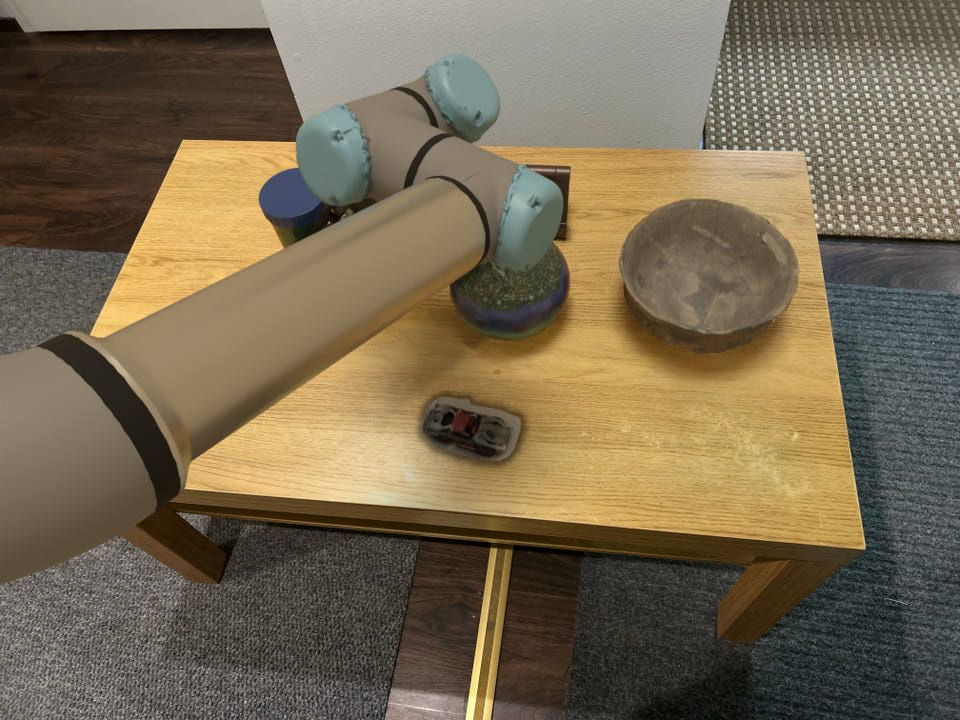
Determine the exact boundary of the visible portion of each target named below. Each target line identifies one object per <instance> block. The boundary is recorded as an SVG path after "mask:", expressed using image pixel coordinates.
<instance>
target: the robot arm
mask: <svg viewBox="0 0 960 720" xmlns="http://www.w3.org/2000/svg"><path fill="white" fill-rule="evenodd" d="M500 99H501V98H500V94H499V92H498V88H497V86H496V84H495V83H494V82H493V80H492V78H491V76H490V74H489V72H487V70H486V69H485V68H484V67H483V66H482V65H481V64H480V63H479V62H478V61H477V60H475V59H473V58H472V57H471V56H468V55H466V54H463V53H457V52H452V53H448V54H445V55H444V56H442V57H441V58H440V59H438V60H437V61H436V62H435V63H434V64H431V65H428V66H427V67H426V70H425V72H424V73H423V74H422V75H421V76H420V77H418V78H417V79H416V80H414V81H410V82H408V83H405V84H401V85H398V86H396V87H393V88H390V89H389V90H385V91H381V92H378V93H375V94H372V95H368V96H364V97H362V98H361V97H360V98H359V99H355V100H352V101H348V102H344V103H342V104H340V103H337V104H335V105H333V106H331V108H328V109H326V110H324V111H322V112H320V113H317V114H314V115H312V116H311V117H309V118H307V119H306V120H305V121H304V122H303V123H302V124H301V125H300V128H299V129H298V132H297V134H296V138H295V152H296V154H295V158H296V163H297V168H299V170H300V173H301V175H302V177H303V179H304V181H305V183H306V184H307V186H308V187H309V189H310V190H311V191H312V192H313V193H314V194H315V195H316V196H317V197H318V198H319V199H320V200H322V201H323V202H325V203H327V205H326V206H325V207H324V209H323V212H322V218H321V219H320V220H319V222H318V223H317V224H316V225H315V226H314V228H313V229H312V230H311V231H310V232H309V234H308V235H307V236H306V237H305V238H304V239H303V240H301V241H299V242H297V243H295V244H293V245H290V246H289V247H287V248H285V249H284V248H282V249H280V250H279V251H276V252H275V253H273V254H271V255H268V256H267V257H264V258H262V259H260V260H258V261H256V262H254V263H252V264H250V265H248V266H246V267H244V268H242V269H240V270H238V271H236V272H233V273H232V274H230V275H228V276H225V277H223V278H222V279H220V280H217V281H215V282H214V283H212V284H209V285H207V286H206V287H203V288H201V289H199V290H197V291H195V292H193V293H191V294H189V295H187V296H185V297H183V298H181V299H179V300H177V301H175V302H172V303H170V304H169V305H167V306H164V307H162V308H161V309H159V310H156V311H155V312H153V313H150V314H148V315H146V316H145V317H143V318H141V319H138V320H137V321H134V322H133V323H129V324H128V325H127V326H125V327H122V328H120V329H118V330H116V331H114V332H112V333H110V334H108V335H106V336H103V337H98V336H94V335H91V334H87V333H84V332H80V331H76V330H68V331H65V332H63V333H60V334H58V335H56V336H54V337H52V338H50V339H48V340H46V341H43V342H41V343H39V344H37V345H35V346H32V347H31V348H27V349H24V350H20V351H17V352H12V353H8V354H0V585H3V584H8V583H12V582H15V581H17V580H20V579H23V578H25V577H28V576H30V575H33V574H36V573H39V572H42V571H44V570H45V571H46V570H47V569H50V568H52V567H56V566H58V565H61V564H63V563H66V562H67V561H69V560H71V559H74V558H76V557H78V556H80V555H82V554H85V553H87V552H89V551H91V550H94V549H95V548H98V547H100V546H102V545H104V544H106V543H108V542H109V541H111V540H113V539H114V538H116V537H118V536H120V535H121V534H123V533H124V532H127V531H128V530H130V529H131V528H133V527H135V526H137V525H138V524H139V523H141V522H142V521H143V520H145V519H146V518H148V517H149V516H151V515H152V514H154V513H156V512H157V511H158V510H160V509H161V508H162V507H164V506H165V505H167V504H168V503H169V502H171V501H172V500H174V499H175V498H177V497H178V496H179V495H180V494H182V493H183V492H184V490H185V488H186V486H187V480H188V475H189V469H190V465H191V463H192V462H193V461H195V460H196V459H198V458H199V457H200V456H202V455H203V454H205V453H206V452H207V451H209V450H211V449H212V448H213V447H215V446H217V445H218V444H219V443H221V442H222V441H224V440H225V439H227V438H229V436H231V435H233V434H235V432H237V431H238V430H240V429H241V428H243V427H244V426H246V425H247V424H248V423H250V422H251V421H253V420H255V419H256V418H257V417H260V416H261V415H262V414H263V413H264V412H266V411H267V410H269V409H271V408H272V407H274V406H275V405H276V404H278V403H279V402H281V401H282V400H283V399H285V398H286V397H288V396H289V395H291V394H292V393H294V392H296V391H297V390H298V389H300V388H301V387H303V386H304V385H306V384H307V383H308V382H310V381H311V380H313V379H314V378H316V377H317V376H319V375H320V374H322V373H323V372H324V371H326V370H328V369H329V368H331V367H332V366H333V365H335V364H336V363H338V362H339V361H341V360H342V359H344V358H345V357H346V356H348V355H349V354H351V353H352V352H354V351H355V350H356V349H359V348H360V347H361V346H363V345H364V344H365V343H366V342H368V341H370V340H371V339H373V338H374V337H375V336H377V335H379V334H380V333H381V332H383V331H385V330H386V329H388V328H389V327H390V326H392V325H393V324H395V323H396V322H397V321H399V320H400V319H402V318H404V317H405V316H406V315H408V314H409V313H411V312H412V311H413V310H416V308H418V307H419V306H421V305H422V304H424V303H425V302H427V301H428V300H430V299H431V298H433V297H434V296H435V295H437V294H438V293H440V292H441V291H443V290H444V289H446V288H447V287H449V285H450V284H451V283H453V282H454V281H456V280H457V279H459V278H460V277H462V276H463V275H465V274H466V273H467V272H469V271H470V270H472V269H473V268H475V267H477V266H479V265H480V264H482V263H483V262H484V261H486V260H492V261H493V262H495V265H497V266H499V267H500V266H503V267H506V268H508V269H511V270H514V271H526V270H528V269H530V268H532V267H533V266H535V265H536V264H537V263H538V262H539V261H540V260H541V258H542V257H543V256H544V255H545V253H546V252H547V250H548V249H549V247H550V246H551V244H552V242H554V240H555V239H556V237H555V236H556V233H557V231H558V228H559V225H560V221H561V217H562V212H563V196H562V193H561V190H560V188H559V187H558V186H557V185H556V184H555V183H554V182H553V181H551V180H549V179H547V178H545V177H543V176H542V175H540V174H538V173H536V172H534V171H532V170H531V169H529V168H527V167H526V165H525V164H526V163H522V162H520V163H518V162H515V161H514V160H513V161H512V160H510V159H508V158H505V157H503V156H501V155H498V154H496V153H494V152H493V151H492V152H491V151H490V150H487V149H485V148H482V147H480V146H479V145H476V144H474V143H477V142H478V141H480V140H481V139H482V137H483V135H484V134H485V133H487V132H488V130H489V129H490V128H492V127H493V126H494V125H495V124H496V123H497V120H498V118H499V116H500V113H501V100H500ZM332 209H333V212H334V213H333V212H332V211H331V210H332Z"/></svg>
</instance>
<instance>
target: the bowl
mask: <svg viewBox="0 0 960 720" xmlns="http://www.w3.org/2000/svg"><path fill="white" fill-rule="evenodd" d="M619 252H620V253H619V259H618V267H619V272H620V276H621V279H622V282H623V283H622V293H623V298H624V301H625V304H626V307H627V308H628V310H629V312H630V314H631V315H632V317H633V319H634V320H635V322H636V323H637V324H638V325H639V327H641V328H642V329H643V330H644V332H646V333H647V334H648V335H649V336H651V337H652V338H653V339H656V340H658V341H659V342H661V343H664V344H666V345H669V346H670V347H672V348H675V349H679V350H682V351H684V352H687V353H689V354H690V353H691V354H693V355H696V356H705V355H716V354H724V353H728V352H732V351H735V350H738V349H739V348H741V347H744V346H748V345H749V344H752V343H753V342H755V341H757V340H758V339H759V338H760V337H762V335H763V334H765V333H766V331H767V330H768V329H769V328H770V327H771V325H772V324H773V323H774V320H776V319H777V318H778V317H779V316H781V315H783V314H784V312H785V311H786V309H788V307H789V306H790V305H791V303H792V301H793V298H794V296H795V294H796V292H797V290H798V285H799V274H800V267H799V266H800V265H799V260H798V257H797V255H796V252H795V249H794V248H793V245H792V243H791V241H790V240H789V239H788V238H786V237H785V236H784V234H783V233H782V232H781V231H780V230H779V229H778V228H777V227H776V225H774V224H772V223H771V222H770V220H769V219H767V218H766V217H764V216H762V215H759V214H758V213H757V212H754V211H752V210H751V209H749V208H747V207H746V206H743V205H739V204H736V203H732V202H728V201H722V200H719V199H713V198H692V197H689V198H684V199H680V200H679V199H678V200H676V201H673V202H670V203H667V204H665V205H662V206H659V207H658V208H656V209H654V210H652V211H651V212H650V213H648V214H647V215H646V216H644V217H643V218H642V220H640V221H639V222H637V223H636V224H635V225H634V227H633V228H632V229H631V230H630V232H629V233H628V234H627V235H626V238H625V240H624V242H623V244H622V246H621V248H620V251H619Z"/></svg>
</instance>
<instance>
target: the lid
mask: <svg viewBox="0 0 960 720" xmlns="http://www.w3.org/2000/svg"><path fill="white" fill-rule="evenodd" d="M258 204H259V208H260V209H261V211H262V214H263V215H264V218H265V219H266V220H267V221H268V222H269V223H270V224H271V225H272V224H274V225H275V226H278V227H281V228H299V227H303V226H306V225H309V224H311V223H313V222H315V221H316V220H318V219H319V218H320V217H321V216H322V212H323V209H324V207H325V206H326V205H327V203H325V202H323V201H322V200H320V199H319V198H318V197H317V196H316V195H315V194H314V193H313V192H312V191H311V190H310V189H309V187H308V186H307V184H306V183H305V181H304V179H303V177H302V175H301V173H300V170H299V167H293V168H292V167H291V168H287V169H285V170H281V171H279V172H277V173H276V174H274V175H272V176H271V177H270V178H269V179H267V180H266V181H265V182H264V183H263V185H262V187H261V188H260V190H259V193H258Z"/></svg>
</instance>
